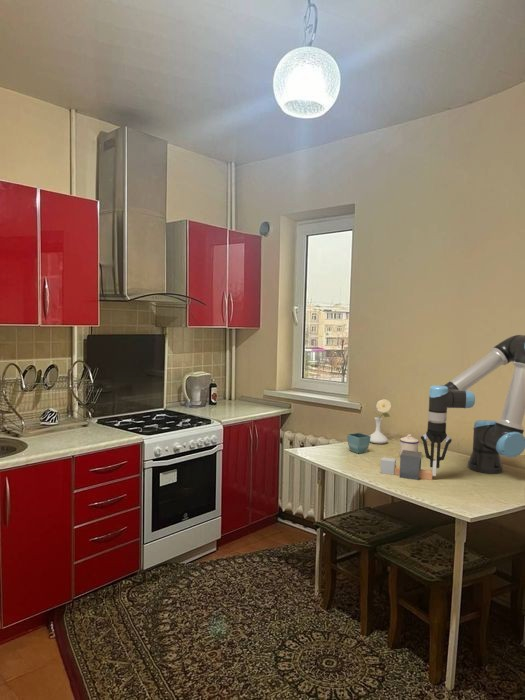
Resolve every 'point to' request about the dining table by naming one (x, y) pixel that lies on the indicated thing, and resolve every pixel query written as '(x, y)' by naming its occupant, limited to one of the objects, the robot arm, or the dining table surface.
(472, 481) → the dining table surface
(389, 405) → the flower in vase
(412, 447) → the teacup with lid
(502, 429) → the robot arm
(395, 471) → the orange bar on cube
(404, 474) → the block
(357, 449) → the flower pot
